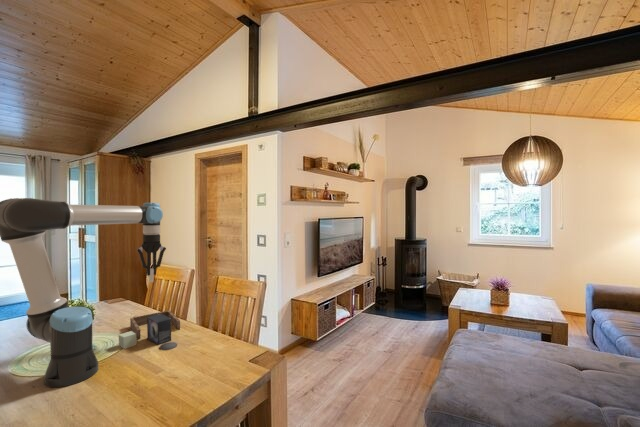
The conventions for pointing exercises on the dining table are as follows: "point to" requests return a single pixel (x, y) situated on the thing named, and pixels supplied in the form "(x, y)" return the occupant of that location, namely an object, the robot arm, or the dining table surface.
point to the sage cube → (127, 339)
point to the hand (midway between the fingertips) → (151, 281)
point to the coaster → (168, 346)
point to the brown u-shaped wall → (142, 320)
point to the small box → (159, 329)
